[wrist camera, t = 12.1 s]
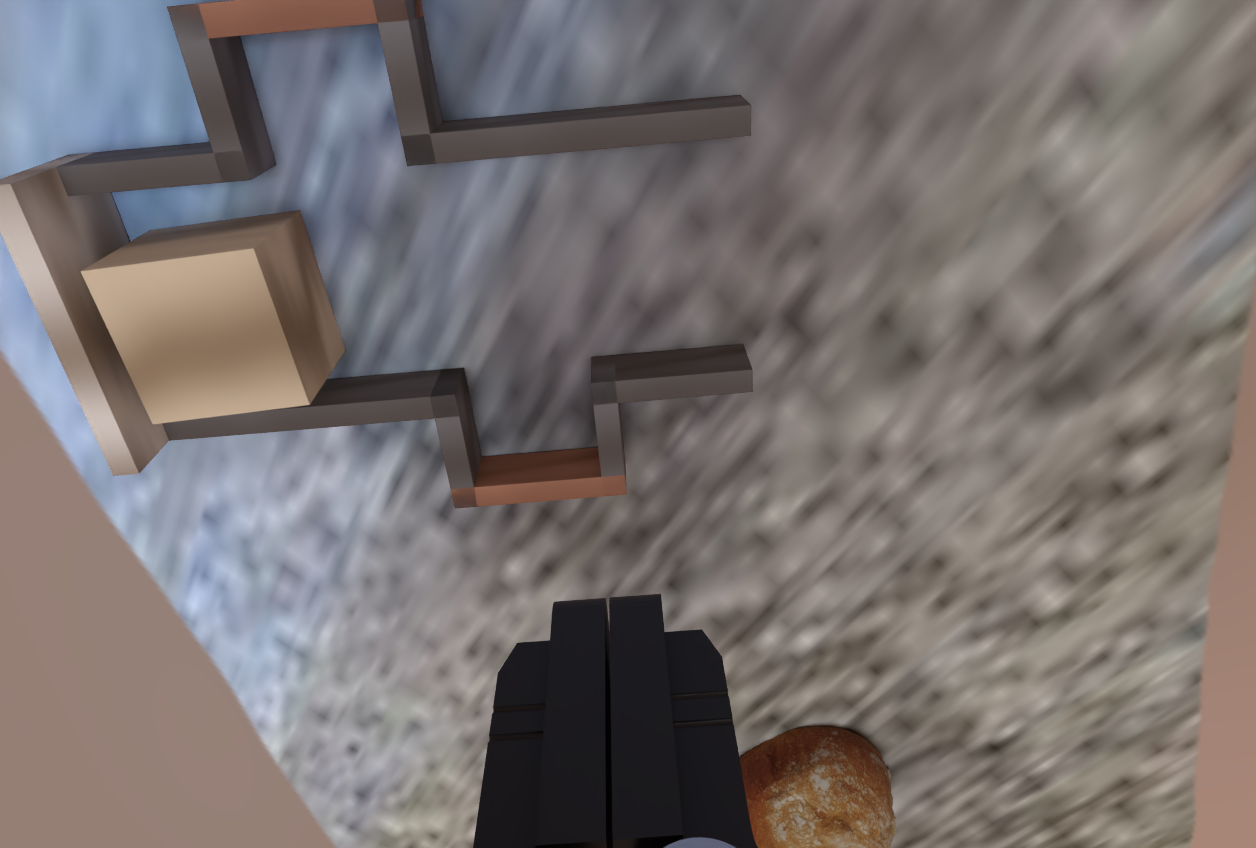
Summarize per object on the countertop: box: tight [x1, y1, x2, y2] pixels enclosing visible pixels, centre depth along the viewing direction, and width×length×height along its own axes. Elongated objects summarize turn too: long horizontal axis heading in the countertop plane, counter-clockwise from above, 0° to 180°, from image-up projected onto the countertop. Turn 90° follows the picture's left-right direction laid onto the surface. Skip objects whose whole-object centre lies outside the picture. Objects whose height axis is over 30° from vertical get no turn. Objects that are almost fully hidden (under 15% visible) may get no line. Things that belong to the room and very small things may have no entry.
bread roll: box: [740, 727, 897, 848], centre depth 47 cm, size 10×10×8 cm
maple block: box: [80, 210, 345, 424], centre depth 31 cm, size 6×6×5 cm
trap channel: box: [0, 0, 753, 508], centre depth 31 cm, size 20×25×5 cm
